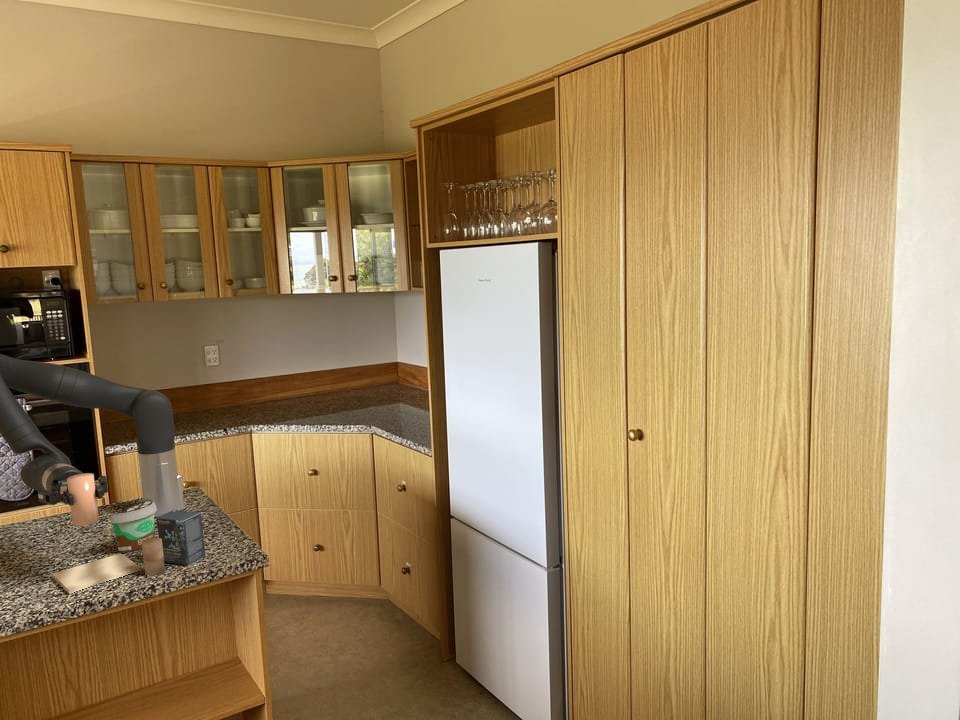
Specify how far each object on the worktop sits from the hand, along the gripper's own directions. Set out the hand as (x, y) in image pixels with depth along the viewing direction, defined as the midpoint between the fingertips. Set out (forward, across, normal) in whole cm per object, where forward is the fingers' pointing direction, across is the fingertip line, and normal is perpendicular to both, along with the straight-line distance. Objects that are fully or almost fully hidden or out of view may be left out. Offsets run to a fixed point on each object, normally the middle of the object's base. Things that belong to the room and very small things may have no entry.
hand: (86, 497), depth 150 cm
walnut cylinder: (+7, +10, +18) cm, 22 cm away
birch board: (-2, +1, +18) cm, 18 cm away
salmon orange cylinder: (-3, 0, +6) cm, 7 cm away
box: (+5, +17, +18) cm, 25 cm away
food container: (-11, +14, +18) cm, 25 cm away
